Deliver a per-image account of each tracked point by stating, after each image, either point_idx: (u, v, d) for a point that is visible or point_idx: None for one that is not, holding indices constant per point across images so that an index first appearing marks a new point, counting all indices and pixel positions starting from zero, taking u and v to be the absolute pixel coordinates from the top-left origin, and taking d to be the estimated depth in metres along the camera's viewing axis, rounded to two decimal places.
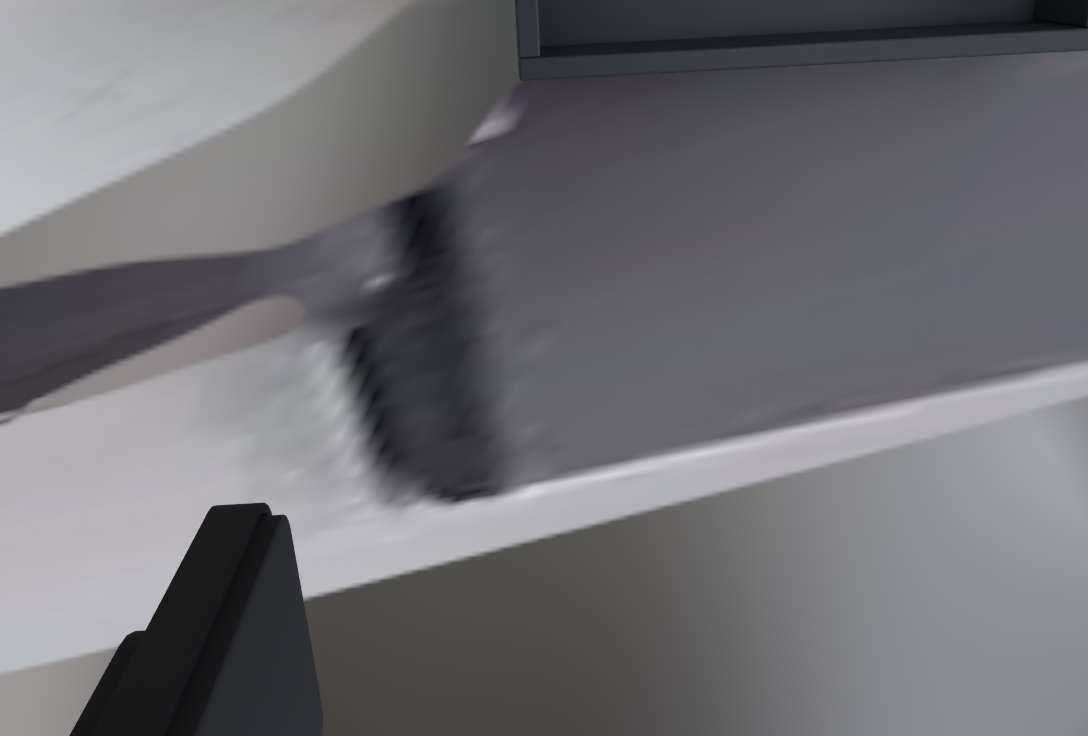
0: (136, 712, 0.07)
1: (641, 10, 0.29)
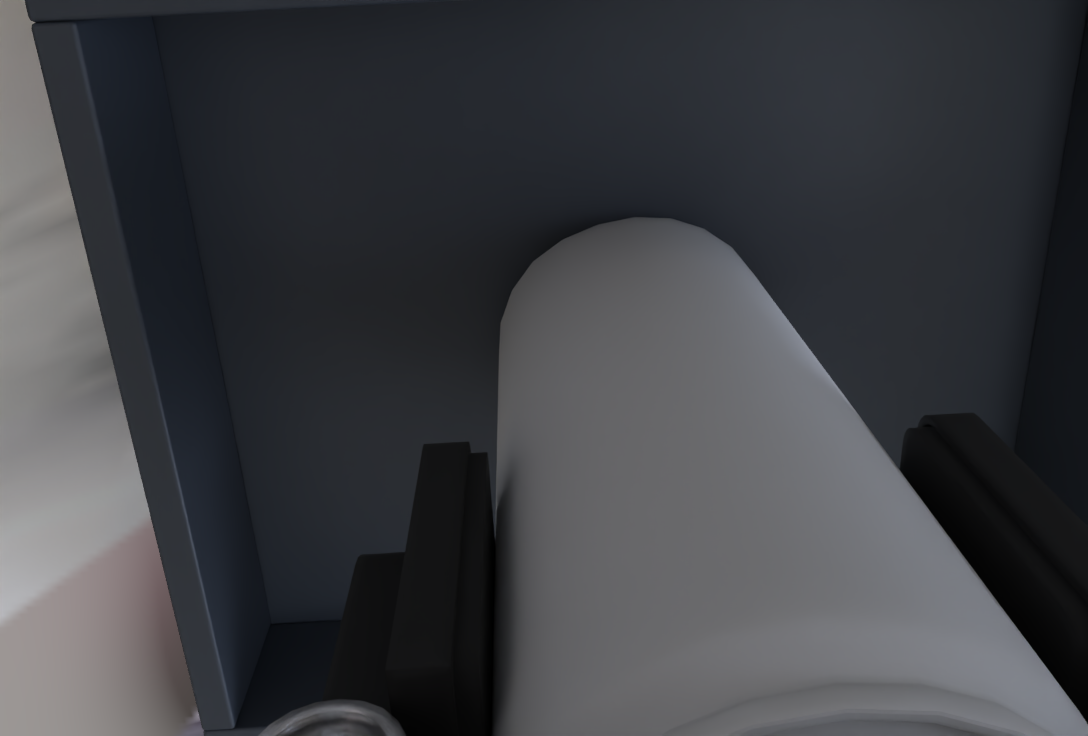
0: (426, 603, 0.08)
1: None
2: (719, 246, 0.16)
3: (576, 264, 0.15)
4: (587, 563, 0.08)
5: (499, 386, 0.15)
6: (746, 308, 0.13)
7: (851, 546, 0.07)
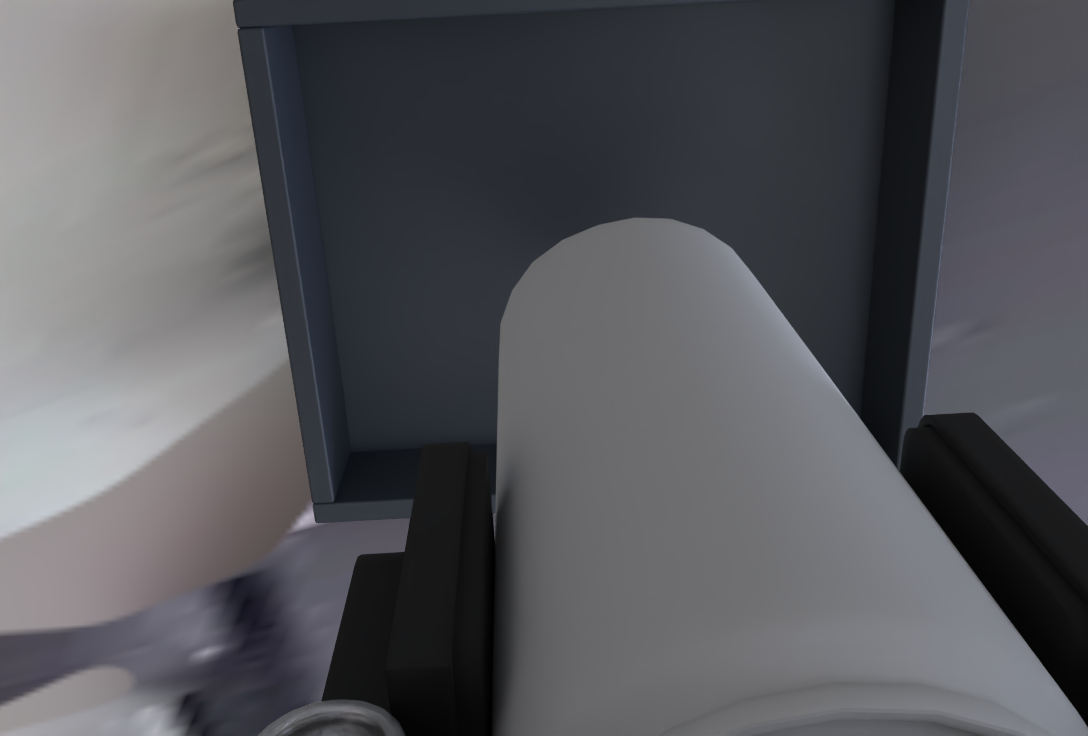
0: (426, 603, 0.08)
1: (456, 419, 0.28)
2: (719, 247, 0.16)
3: (575, 264, 0.15)
4: (587, 564, 0.08)
5: (499, 386, 0.15)
6: (745, 308, 0.13)
7: (849, 545, 0.07)
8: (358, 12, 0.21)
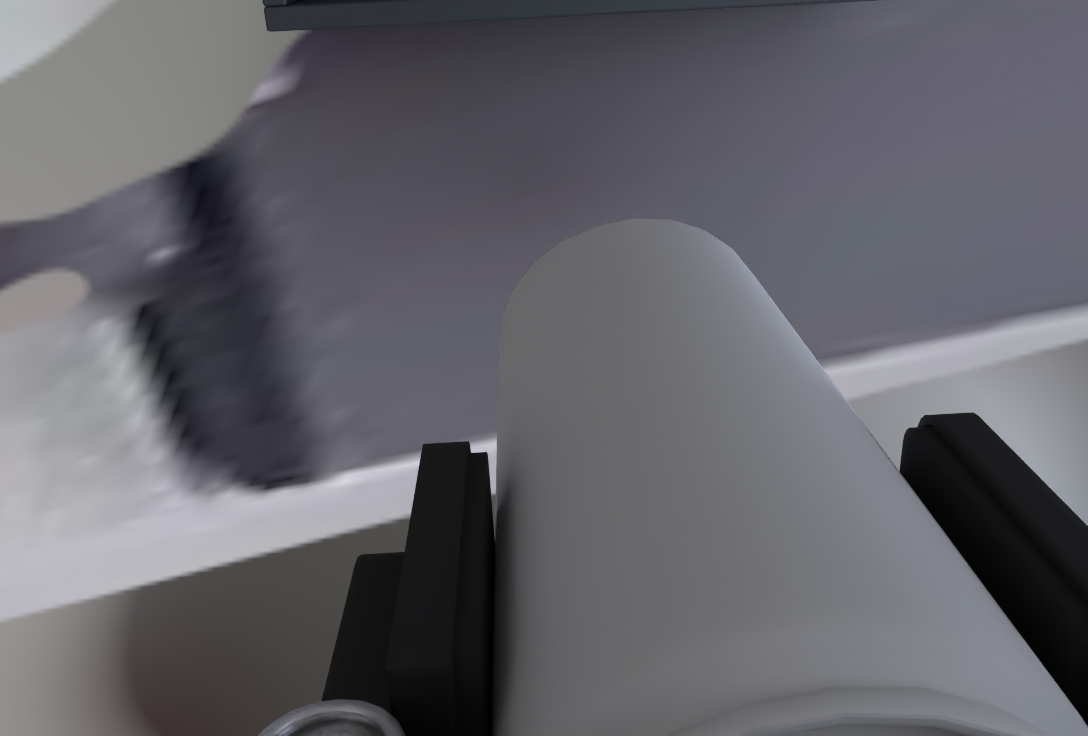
0: (426, 603, 0.08)
1: None
2: (719, 247, 0.16)
3: (575, 265, 0.15)
4: (587, 566, 0.08)
5: (499, 387, 0.15)
6: (746, 310, 0.13)
7: (850, 548, 0.07)
8: None
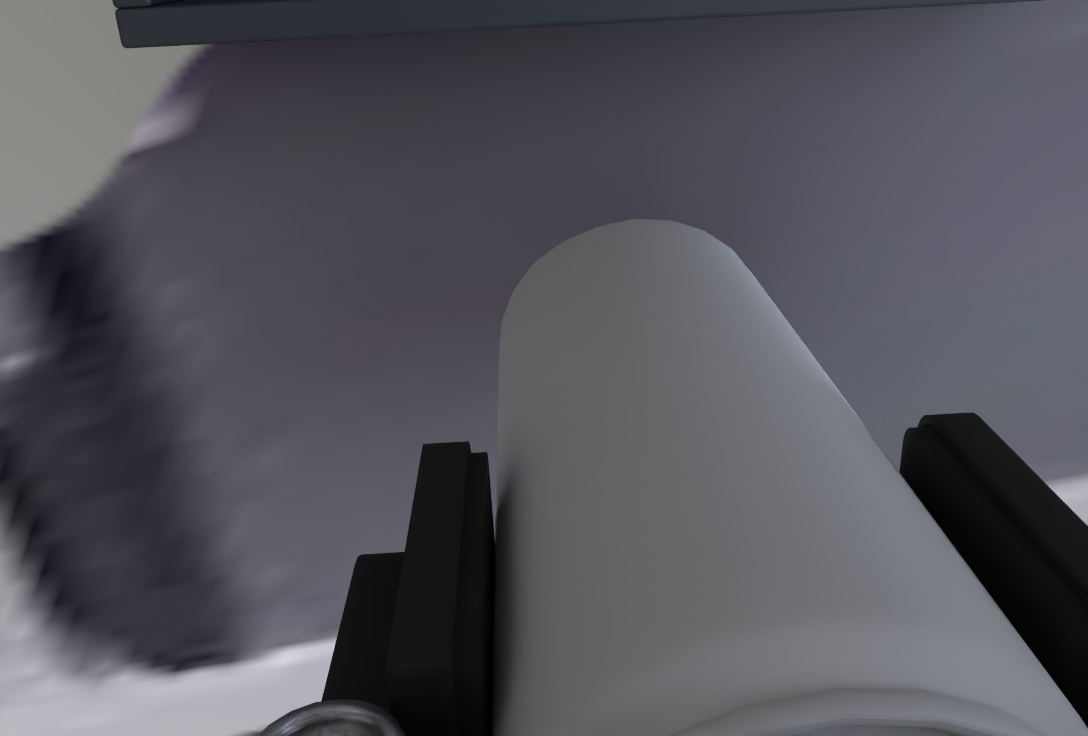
0: (426, 603, 0.08)
1: None
2: (719, 248, 0.16)
3: (575, 267, 0.15)
4: (587, 568, 0.08)
5: (499, 388, 0.15)
6: (746, 310, 0.13)
7: (850, 550, 0.07)
8: None
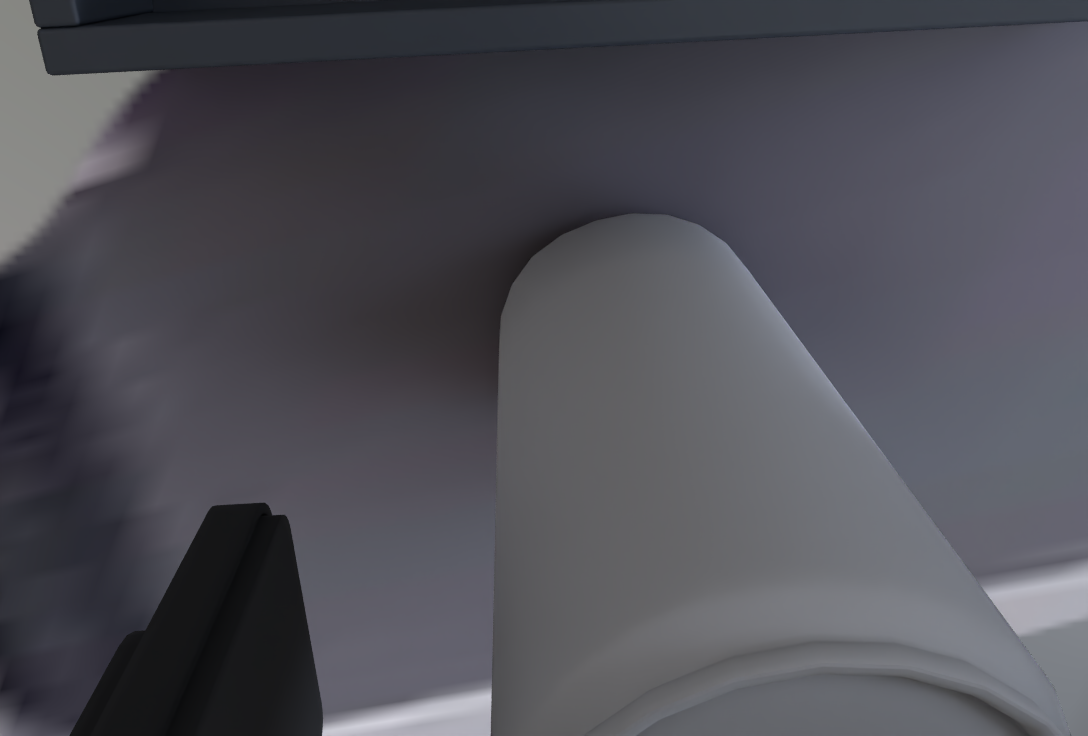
0: (136, 712, 0.07)
1: None
2: (713, 241, 0.16)
3: (574, 258, 0.15)
4: (583, 538, 0.09)
5: (499, 376, 0.15)
6: (738, 300, 0.13)
7: (831, 518, 0.08)
8: None
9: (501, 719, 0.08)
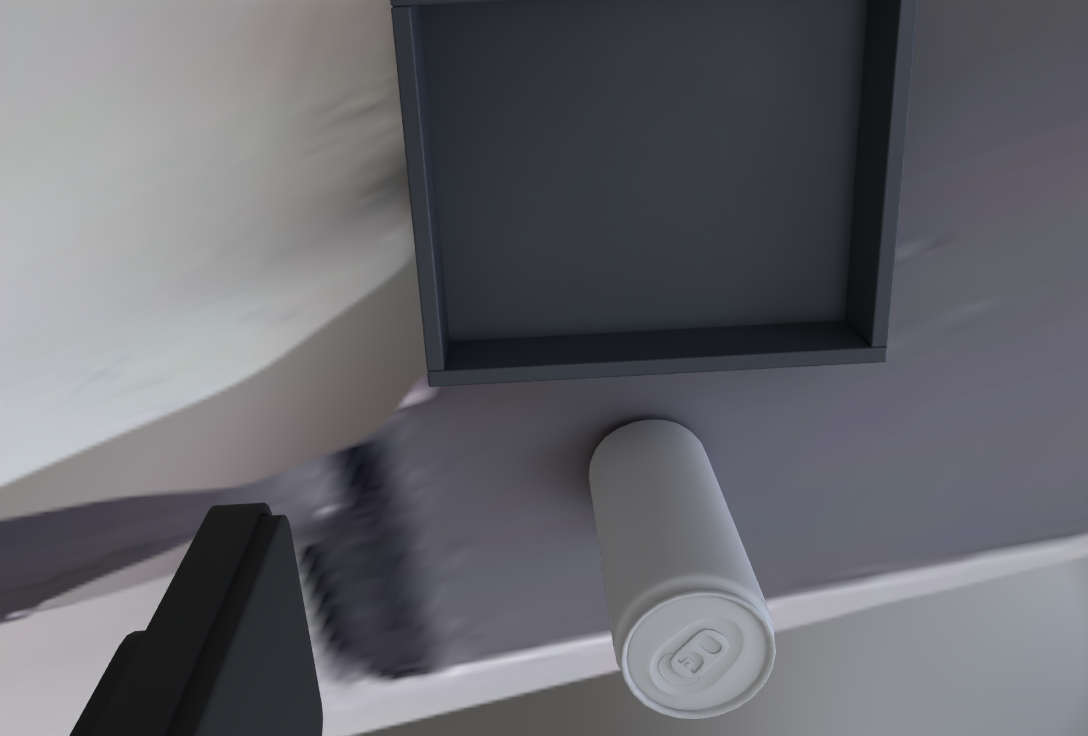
0: (136, 712, 0.07)
1: (531, 315, 0.37)
2: (685, 434, 0.38)
3: (625, 445, 0.37)
4: (638, 563, 0.30)
5: (595, 496, 0.36)
6: (691, 472, 0.34)
7: (706, 558, 0.29)
8: None
9: (616, 613, 0.29)
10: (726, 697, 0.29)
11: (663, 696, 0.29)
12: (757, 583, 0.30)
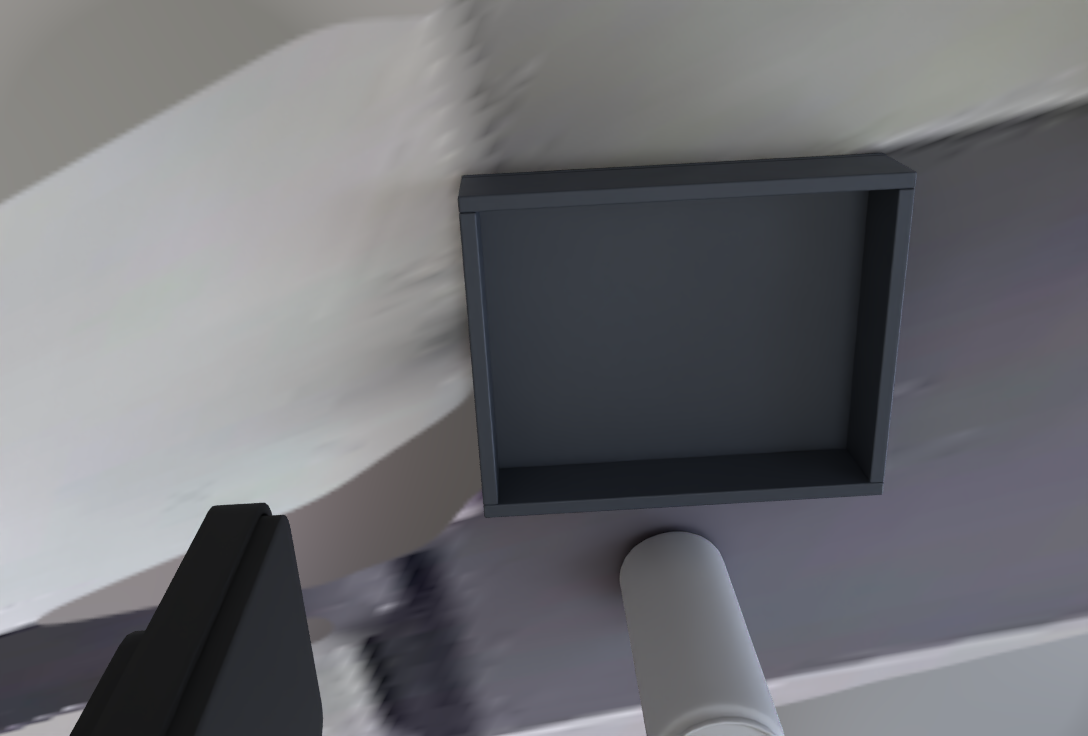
0: (136, 712, 0.07)
1: (571, 446, 0.42)
2: (705, 547, 0.43)
3: (653, 559, 0.42)
4: (671, 687, 0.35)
5: (627, 605, 0.42)
6: (712, 591, 0.40)
7: (730, 686, 0.34)
8: (535, 203, 0.34)
9: (653, 732, 0.35)
10: None
11: None
12: (772, 702, 0.35)
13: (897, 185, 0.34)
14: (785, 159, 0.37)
